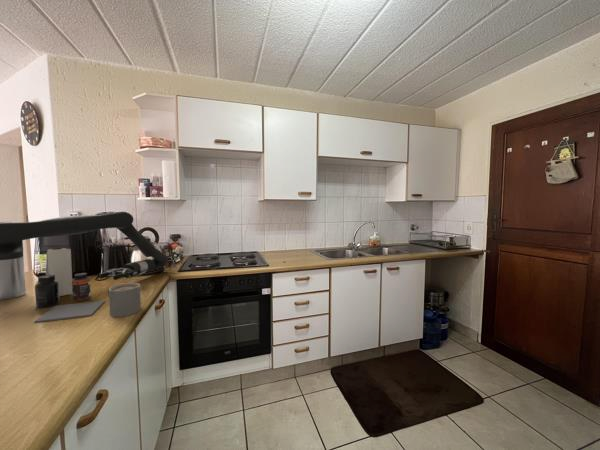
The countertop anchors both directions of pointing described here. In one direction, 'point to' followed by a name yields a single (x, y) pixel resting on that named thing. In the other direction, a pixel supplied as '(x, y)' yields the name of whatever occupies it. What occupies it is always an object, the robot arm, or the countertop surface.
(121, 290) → the coffee mug
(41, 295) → the supplement bottle
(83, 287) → the supplement bottle
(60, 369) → the countertop surface
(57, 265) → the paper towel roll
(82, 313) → the mat
